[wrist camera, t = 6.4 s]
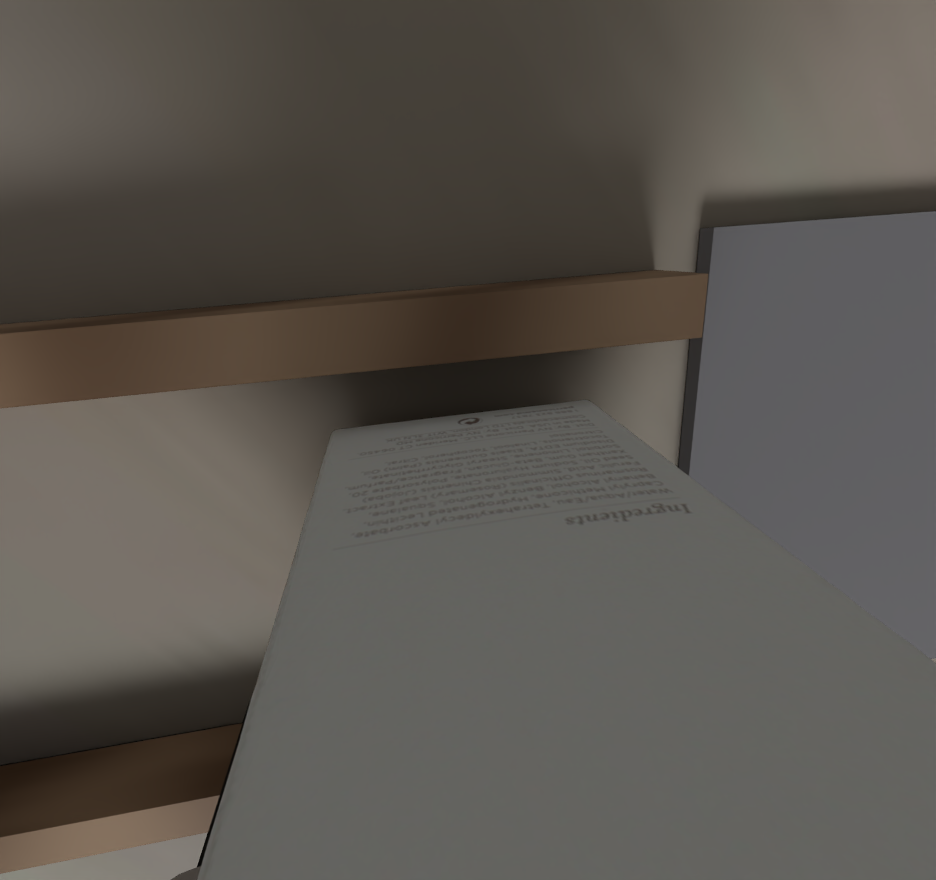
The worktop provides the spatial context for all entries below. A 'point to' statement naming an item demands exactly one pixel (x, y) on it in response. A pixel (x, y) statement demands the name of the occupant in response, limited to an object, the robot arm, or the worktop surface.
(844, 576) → the mat
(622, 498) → the small box
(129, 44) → the worktop surface
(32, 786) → the lane rack
